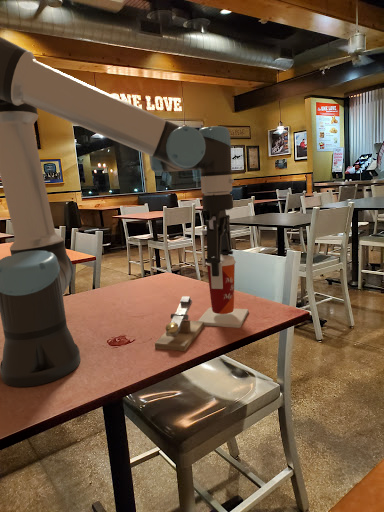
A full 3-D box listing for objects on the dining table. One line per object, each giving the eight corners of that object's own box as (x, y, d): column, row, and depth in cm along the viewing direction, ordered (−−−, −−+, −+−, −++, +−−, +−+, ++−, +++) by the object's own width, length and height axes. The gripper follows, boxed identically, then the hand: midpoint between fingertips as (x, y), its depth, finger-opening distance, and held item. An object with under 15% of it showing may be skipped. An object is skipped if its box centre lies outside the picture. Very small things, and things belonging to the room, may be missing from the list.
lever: (179, 338, 79) (178, 331, 78) (163, 336, 81) (161, 330, 80) (195, 302, 89) (194, 296, 88) (180, 302, 90) (178, 296, 90)
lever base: (184, 351, 78) (183, 334, 77) (155, 348, 80) (153, 332, 80) (204, 326, 91) (203, 311, 90) (178, 324, 93) (177, 310, 93)
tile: (240, 327, 88) (239, 324, 88) (197, 324, 92) (196, 321, 92) (248, 312, 99) (248, 309, 98) (209, 309, 102) (209, 307, 102)
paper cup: (236, 315, 90) (234, 260, 88) (206, 315, 92) (202, 261, 89) (238, 305, 98) (236, 254, 95) (210, 305, 99) (207, 254, 97)
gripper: (221, 195, 78) (226, 296, 83) (240, 191, 97) (244, 273, 102) (188, 196, 81) (194, 295, 85) (213, 192, 100) (218, 273, 104)
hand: (221, 283), depth 93 cm, fingers closed on paper cup, 8 cm apart
